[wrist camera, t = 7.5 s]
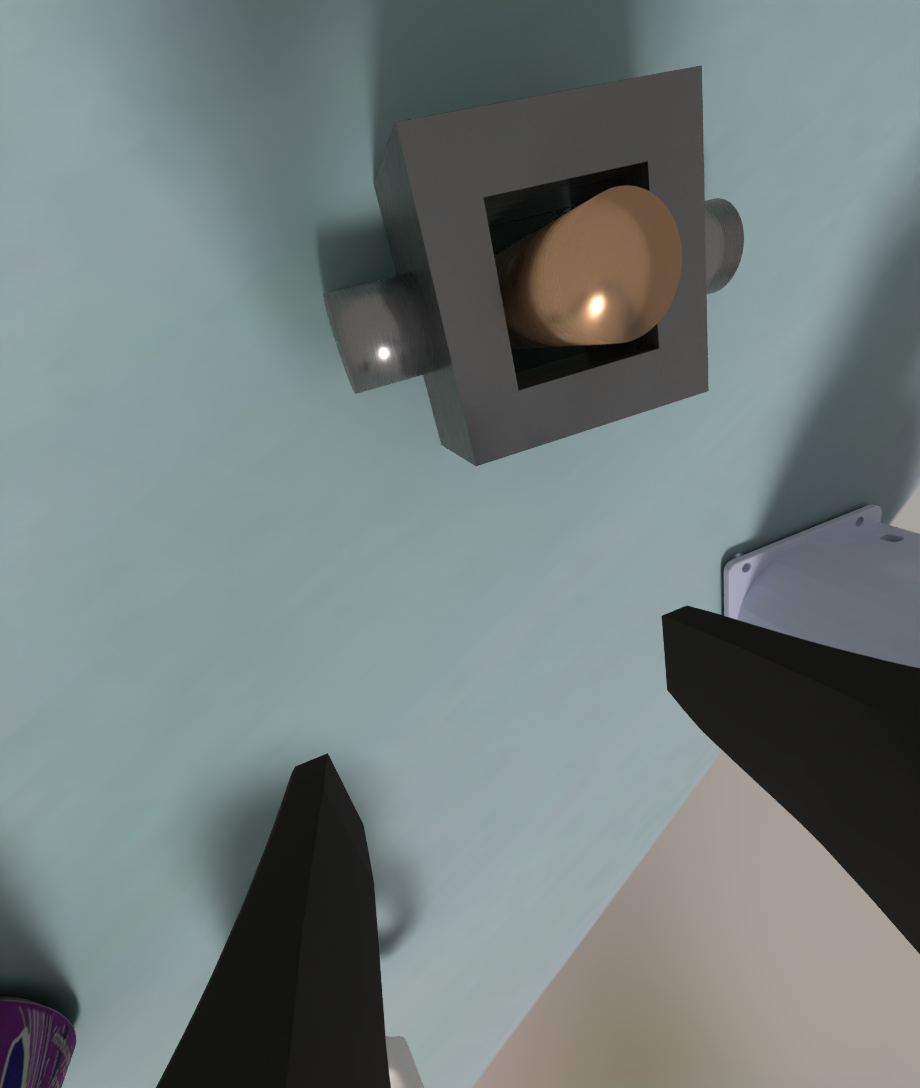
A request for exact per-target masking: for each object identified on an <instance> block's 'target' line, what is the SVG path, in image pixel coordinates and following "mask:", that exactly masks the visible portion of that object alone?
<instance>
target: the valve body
mask: <svg viewBox="0 0 920 1088" xmlns="http://www.w3.org/2000/svg"><path fill="white" fill-rule="evenodd" d="M626 185H628V186H637V187H640V188H644V189H646V190H648V191H650V192H651V193H653V194H654V195H656V196H657V197H658V198H659V199H660V200H661V201H662V202H663V203H664V204H665V205H666V206H667V208H668V209H669V211H670V212H671V214H672V216H673V218H674V220H675V222H676V225H677V228H678V231H679V235H680V240H681V246H682V268H681V275H680V280H679V284H678V287H677V291H676V294H675V296H674V298H673V301H672V303H671V305H670V306H669V308H668V310H667V312H666V313H665V314H664V316H663V317H662V319H661V320H660V321H659V322H658V323H657V324H656V325H655V326H654V327H653V328H652V329H651V330H650V331H648V332H647V333H646V334H644V335H643V336H641V337H639V338H637V339H635V340H632V341H629V342H624V343H614V344H598V345H588V352H585V353H581V354H578V355H575V356H571V357H568V358H564V359H561V360H557V361H554V362H551V363H547V364H544V365H540V366H537V367H534V368H530V369H527V370H523V371H520V372H516V373H515V368H514V363H513V357H512V352H511V346H510V341H509V335H508V330H507V324H506V319H505V313H504V308H503V302H502V297H501V291H500V286H499V280H498V275H497V269H496V264H495V258H494V253H493V247H492V242H491V236H490V231H489V226H491V225H495V224H499V223H504V222H508V221H512V220H516V219H521V218H525V217H529V216H534V215H538V214H542V213H547V212H551V211H555V210H560V209H564V208H568V207H571V209H572V210H573V209H574V208H576V207H578V206H579V205H581V204H583V203H585V202H586V201H588V200H590V199H591V198H593V197H595V196H597V195H598V194H600V193H602V192H604V191H606V190H608V189H610V188H614V187H617V186H626ZM374 187H375V190H376V194H377V198H378V202H379V206H380V210H381V213H382V217H383V221H384V225H385V229H386V233H387V237H388V240H389V244H390V248H391V252H392V256H393V260H394V264H395V267H396V271H397V276H393V277H389V278H385V279H381V280H377V281H372V282H368V283H364V284H360V285H356V286H352V287H348V288H344V289H339V290H335V291H331V292H327V293H323V297H324V302H325V306H326V310H327V314H328V318H329V321H330V325H331V328H332V331H333V335H334V338H335V341H336V344H337V347H338V350H339V353H340V356H341V359H342V362H343V365H344V368H345V371H346V373H347V376H348V379H349V381H350V384H351V386H352V389H353V391H354V393H355V394H357V393H360V392H364V391H367V390H371V389H374V388H378V387H381V386H385V385H388V384H392V383H396V382H399V381H403V380H406V379H410V378H413V377H417V376H420V375H424V379H425V383H426V387H427V391H428V395H429V398H430V402H431V406H432V410H433V414H434V418H435V422H436V425H437V429H438V433H439V437H440V441H441V445H443V446H444V447H446V448H447V449H449V450H451V451H452V452H454V453H456V454H457V455H459V456H460V457H462V458H464V459H465V460H467V461H468V462H470V463H472V464H473V465H475V466H478V465H481V464H484V463H487V462H491V461H494V460H497V459H500V458H503V457H506V456H509V455H512V454H515V453H518V452H521V451H524V450H528V449H531V448H534V447H537V446H540V445H543V444H546V443H549V442H552V441H555V440H558V439H562V438H565V437H568V436H571V435H574V434H577V433H580V432H583V431H586V430H589V429H592V428H595V427H599V426H602V425H605V424H608V423H611V422H614V421H617V420H620V419H623V418H626V417H629V416H633V415H636V414H639V413H642V412H645V411H648V410H651V409H654V408H657V407H660V406H663V405H666V404H670V403H673V402H676V401H679V400H682V399H685V398H688V397H691V396H694V395H697V394H700V393H704V392H707V391H708V347H707V299H706V295H707V294H710V293H714V292H717V291H719V290H720V289H722V288H723V287H724V286H725V285H727V283H728V282H729V281H730V280H731V278H732V277H733V276H734V274H735V272H736V270H737V268H738V266H739V263H740V260H741V256H742V252H743V244H744V232H743V225H742V221H741V218H740V216H739V213H738V212H737V210H736V208H735V207H734V206H733V205H732V204H731V203H730V202H728V201H727V200H724V199H719V198H716V199H710V200H706V201H704V154H703V105H702V66H696V67H691V68H686V69H680V70H675V71H669V72H664V73H658V74H653V75H648V76H642V77H637V78H631V79H626V80H621V81H615V82H610V83H604V84H599V85H593V86H588V87H583V88H577V89H572V90H566V91H561V92H556V93H550V94H545V95H539V96H534V97H529V98H523V99H518V100H512V101H507V102H501V103H496V104H491V105H485V106H480V107H474V108H469V109H464V110H458V111H453V112H447V113H442V114H437V115H431V116H426V117H420V118H415V119H409V120H404V121H399V122H396V123H395V126H394V128H393V131H392V134H391V137H390V139H389V142H388V145H387V148H386V151H385V153H384V156H383V159H382V162H381V164H380V167H379V170H378V173H377V176H376V178H375V181H374Z"/></svg>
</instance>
